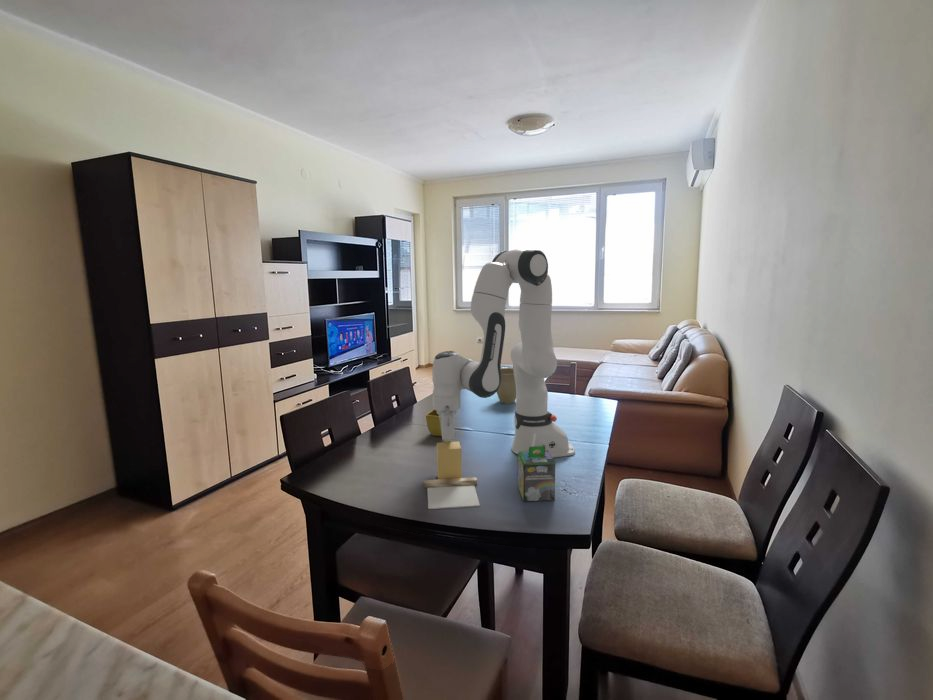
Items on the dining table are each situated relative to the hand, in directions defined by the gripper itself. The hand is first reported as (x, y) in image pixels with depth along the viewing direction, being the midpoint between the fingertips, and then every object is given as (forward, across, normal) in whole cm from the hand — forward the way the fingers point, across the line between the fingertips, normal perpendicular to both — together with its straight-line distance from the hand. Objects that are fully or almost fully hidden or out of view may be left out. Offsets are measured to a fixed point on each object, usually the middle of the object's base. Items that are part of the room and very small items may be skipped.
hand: (446, 444), depth 143 cm
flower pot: (+9, +35, +1) cm, 36 cm away
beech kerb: (+9, -10, -1) cm, 14 cm away
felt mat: (+9, -18, -1) cm, 20 cm away
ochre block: (+9, -6, 0) cm, 11 cm away
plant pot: (+9, +79, -35) cm, 87 cm away
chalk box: (+9, -19, -25) cm, 32 cm away
